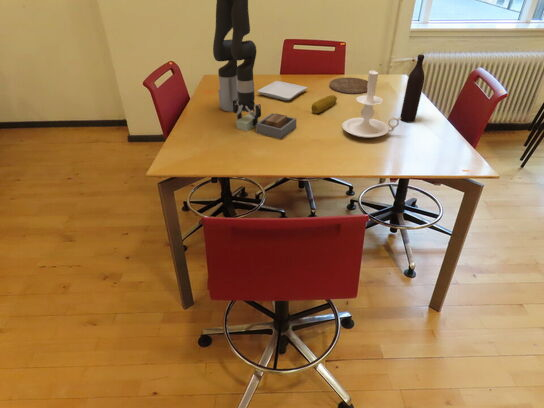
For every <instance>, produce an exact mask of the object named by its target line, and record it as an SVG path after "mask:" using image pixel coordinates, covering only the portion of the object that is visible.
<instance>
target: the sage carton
mask: <svg viewBox="0 0 544 408" xmlns="http://www.w3.org/2000/svg"><path fill="white" fill-rule="evenodd" d="M258 122H259V118H257V123H258ZM235 124H236V129H238V130H241V131H245V132H248V131H251V130H252V129H253V128H255V127H256V126H253V117H252V116H251V115H250V113H248V114H247V115H244V116H242V118H240V119H238V120H236V122H235Z"/></svg>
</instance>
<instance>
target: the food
mask: <svg viewBox="0 0 544 408" xmlns="http://www.w3.org/2000/svg"><path fill="white" fill-rule="evenodd" d="M337 100H338V97H337V96H336V95H333V94H332V95H326V96H325V97H323V98H320V99H318V100H316V101H314V102H313V103H312V104H311V107H310V108H311V112H312V113H314V114H320V113H322V112H324V111H325V110H327V109H328V108H330V107H331V106H333V105H334V104H336V102H337Z"/></svg>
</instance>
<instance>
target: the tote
mask: <svg viewBox="0 0 544 408" xmlns="http://www.w3.org/2000/svg"><path fill="white" fill-rule="evenodd" d="M274 114H275V113H274V112H272V113H270V114H269V115H267V116H266V117H264V118H262V119H261V120H260V121H258V123H257V124H256V126H255V127H256V134H260V135H263V136H267V137H271V138H275V139H278V140H282V139H284V138H285V137H287V135H289V134H290V133H291V132H293V131H294V130H295V129H296V128H297V118H296V117H292V116H287V124H286V125H285V126H283V127H282V128H281V129H280V128H276V127H272V126H268V125H266V119H268V118H269V117H271V116H272V115H274Z"/></svg>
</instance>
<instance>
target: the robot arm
mask: <svg viewBox="0 0 544 408" xmlns="http://www.w3.org/2000/svg"><path fill="white" fill-rule="evenodd" d="M231 30H232V38H231V39H225V38H226V37H227V35H228V34H229V32H231ZM250 32H251V25H250V15H249V0H216V6H215V32H214V38H213V46H212V53H213V55H212V56H213V58H214V60H215V61H217V62H227V63H226V64H224V65H223V66H221V67H219V68H218V81H219V89H218V91H217V92H218V100H219V101H218V102H219V109H221V110H222V111H224V112H233V113H234V114H236V115H237V116H236V119H237V120H238V119H240V118H242V117H243V114H242V113H243V112H247V113H248V114H249V115H251V116H252V117H253V126H255V127H256V124H257V118H258V119H259V118H261V117H262V107H261V104H260V103H258V104H256V103H255V95H256V94H255V82H254V66H255V61H256V57H257V45H256V43H255V42H254V41H252V40H244V37H245V36H247V35H249V34H250ZM238 61H243V62H242V63H241V64H239V65H238ZM237 120H236V121H237Z"/></svg>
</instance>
